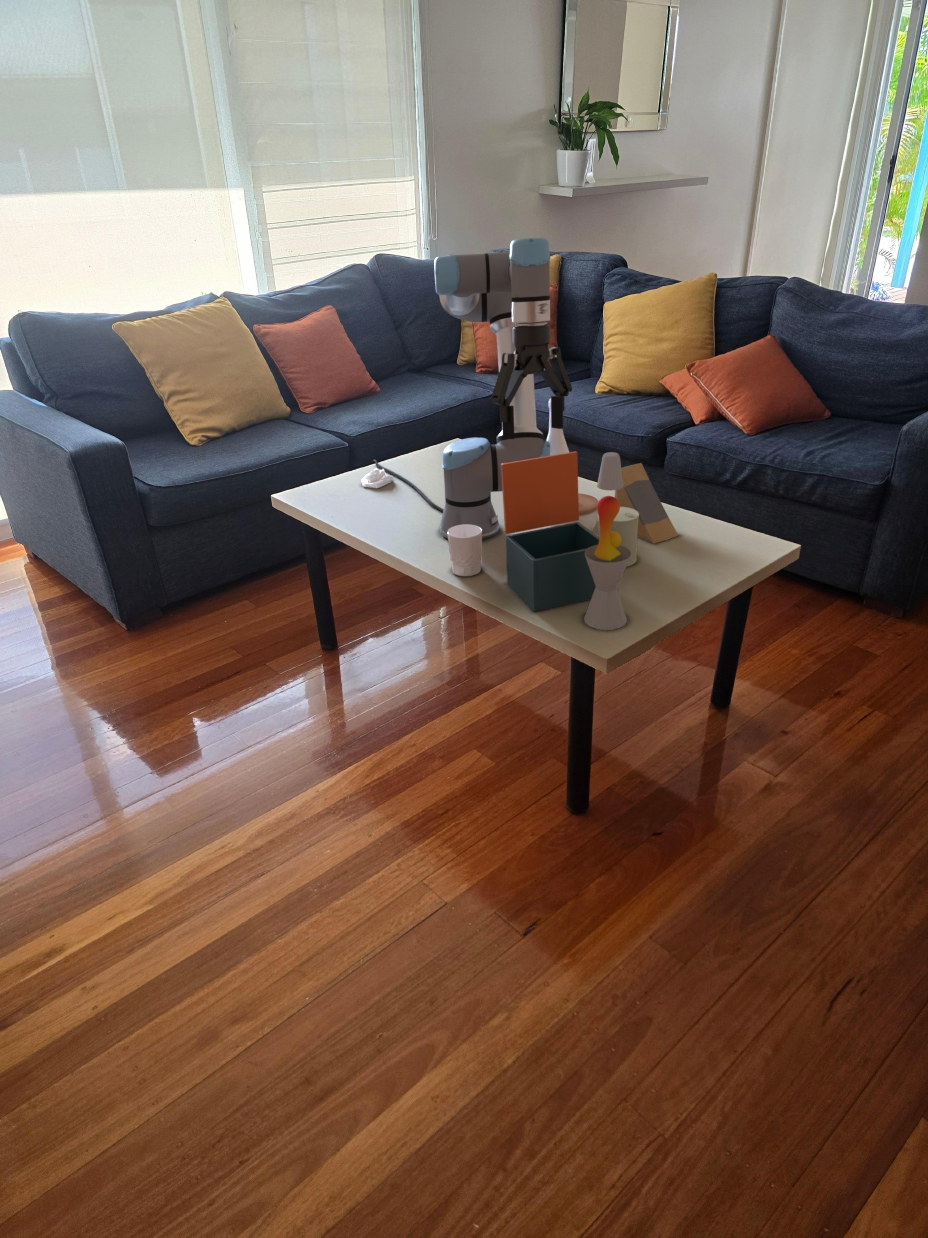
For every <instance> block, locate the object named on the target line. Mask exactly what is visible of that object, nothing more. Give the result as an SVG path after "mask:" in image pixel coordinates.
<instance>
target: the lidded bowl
mask: <svg viewBox="0 0 928 1238" xmlns="http://www.w3.org/2000/svg"><path fill="white" fill-rule="evenodd" d="M578 502H579V520H577V521H572V522H567V523H562V524H557V525H552V526H550V527H554V526H559V525H564V524H570V523H575V522H579V523H580V524H582V525H583V526H585V527H586V528H587V529H589V530H590V531H591V532H593V530H594V529H595V527H596V524H597V522H598V518H599V516H598V511H597V504H598V502H599V500H598V499H597V498H596V497H595V496H593V495H590V494H585V493H579V492H578Z"/></svg>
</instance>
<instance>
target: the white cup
mask: <svg viewBox="0 0 928 1238" xmlns="http://www.w3.org/2000/svg"><path fill="white" fill-rule="evenodd" d="M447 541H448V550H449V557H450V562H451V571H452V573H453V574H454V575H456V576H458V577H472V576H475V575H477V574H479V573H480V572H481V571H482V559H483V556H482V555H483V554H482V552H483V540H482V529H481V528H480V527H479V526H476V525H470V524H463V525H457V526H454V527H451V528H450V529H449V530H448V539H447Z"/></svg>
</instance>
